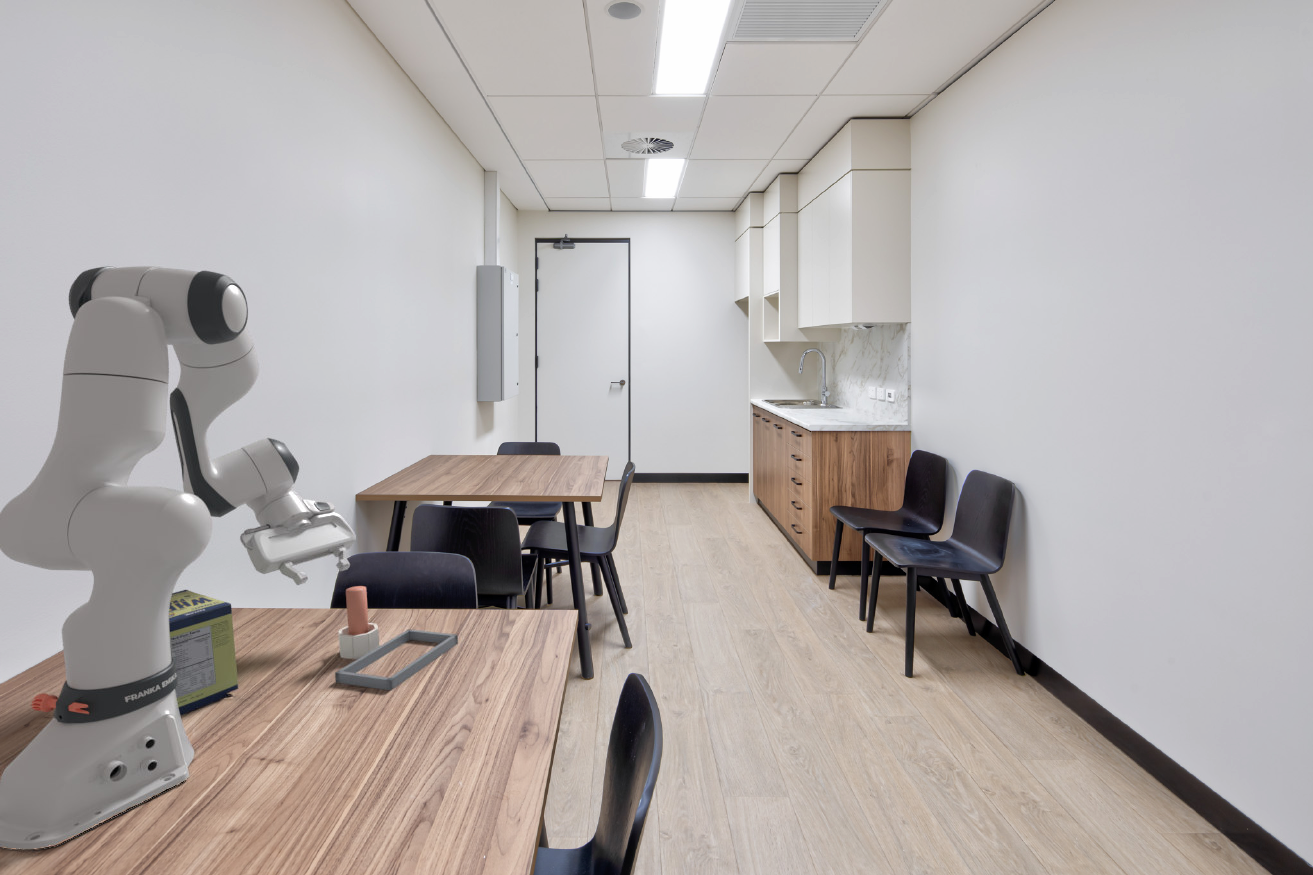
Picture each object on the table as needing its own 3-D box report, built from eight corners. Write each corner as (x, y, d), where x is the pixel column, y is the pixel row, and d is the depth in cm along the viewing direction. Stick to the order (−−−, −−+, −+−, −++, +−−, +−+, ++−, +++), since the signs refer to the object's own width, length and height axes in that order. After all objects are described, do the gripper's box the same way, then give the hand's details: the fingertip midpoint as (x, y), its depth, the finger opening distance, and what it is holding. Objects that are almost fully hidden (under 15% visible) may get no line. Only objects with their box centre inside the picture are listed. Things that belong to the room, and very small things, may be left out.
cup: (362, 664, 126) (361, 638, 126) (332, 660, 128) (330, 634, 128) (386, 649, 133) (385, 624, 132) (357, 646, 135) (355, 621, 134)
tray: (391, 694, 115) (390, 680, 114) (335, 686, 118) (335, 672, 118) (458, 647, 134) (457, 634, 133) (409, 641, 137) (408, 629, 137)
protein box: (192, 672, 124) (185, 588, 122) (240, 692, 116) (233, 603, 114) (124, 696, 115) (115, 606, 114) (171, 720, 107) (162, 623, 106)
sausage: (361, 655, 128) (357, 592, 127) (345, 653, 129) (341, 591, 128) (373, 648, 132) (370, 586, 130) (358, 646, 133) (354, 585, 131)
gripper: (242, 521, 126) (281, 580, 122) (338, 500, 144) (374, 552, 141) (229, 542, 128) (267, 601, 125) (325, 520, 146) (360, 570, 143)
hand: (325, 575), depth 133 cm, fingers open, 8 cm apart
